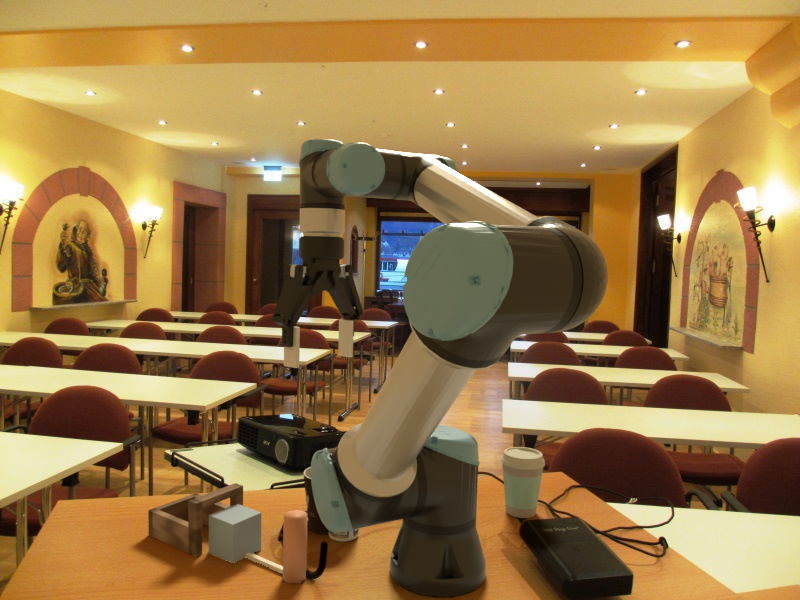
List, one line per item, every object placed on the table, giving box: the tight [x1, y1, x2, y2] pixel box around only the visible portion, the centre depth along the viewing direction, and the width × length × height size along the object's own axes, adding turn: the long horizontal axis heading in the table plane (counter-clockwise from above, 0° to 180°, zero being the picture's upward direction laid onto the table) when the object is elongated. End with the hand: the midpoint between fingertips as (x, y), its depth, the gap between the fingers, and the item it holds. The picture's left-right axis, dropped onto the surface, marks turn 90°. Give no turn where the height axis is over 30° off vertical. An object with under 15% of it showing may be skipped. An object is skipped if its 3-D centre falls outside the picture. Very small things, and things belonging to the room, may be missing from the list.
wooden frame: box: [147, 483, 244, 557], centre depth 111 cm, size 13×10×9 cm
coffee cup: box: [500, 446, 546, 519], centre depth 124 cm, size 8×8×12 cm
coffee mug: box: [303, 466, 329, 535], centre depth 117 cm, size 12×9×10 cm
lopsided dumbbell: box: [208, 504, 308, 584], centre depth 102 cm, size 19×6×10 cm, turn 55°
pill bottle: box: [328, 528, 360, 543], centre depth 112 cm, size 5×5×10 cm
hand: (319, 361), depth 107 cm, fingers open, 13 cm apart
